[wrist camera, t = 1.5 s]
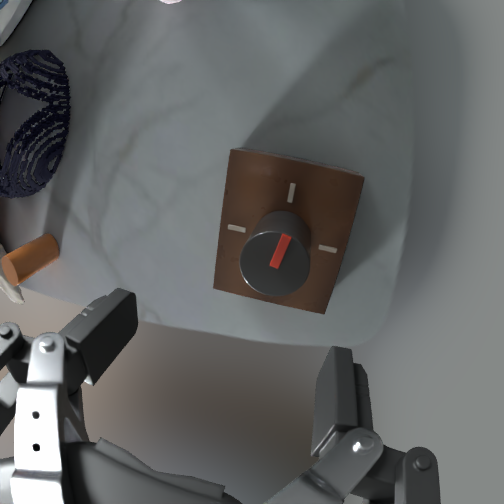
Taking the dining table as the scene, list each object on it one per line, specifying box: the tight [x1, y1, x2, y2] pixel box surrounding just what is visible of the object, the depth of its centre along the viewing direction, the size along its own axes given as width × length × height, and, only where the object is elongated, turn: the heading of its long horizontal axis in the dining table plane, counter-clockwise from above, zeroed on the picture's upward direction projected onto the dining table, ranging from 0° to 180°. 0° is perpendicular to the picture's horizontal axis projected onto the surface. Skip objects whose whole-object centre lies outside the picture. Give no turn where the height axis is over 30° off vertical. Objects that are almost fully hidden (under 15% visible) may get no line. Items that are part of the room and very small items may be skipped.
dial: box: [239, 211, 311, 296], centre depth 20 cm, size 4×4×5 cm
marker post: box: [2, 233, 59, 286], centre depth 28 cm, size 4×4×8 cm
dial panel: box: [213, 148, 364, 314], centre depth 23 cm, size 10×12×3 cm
